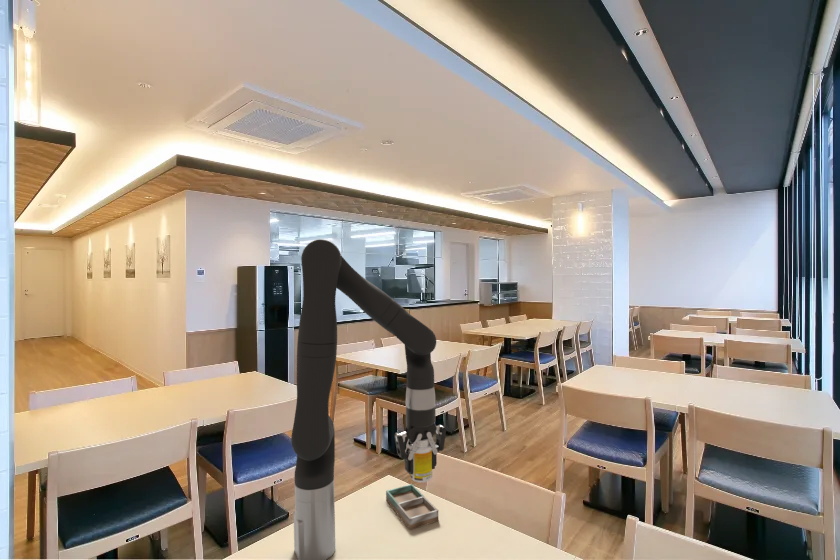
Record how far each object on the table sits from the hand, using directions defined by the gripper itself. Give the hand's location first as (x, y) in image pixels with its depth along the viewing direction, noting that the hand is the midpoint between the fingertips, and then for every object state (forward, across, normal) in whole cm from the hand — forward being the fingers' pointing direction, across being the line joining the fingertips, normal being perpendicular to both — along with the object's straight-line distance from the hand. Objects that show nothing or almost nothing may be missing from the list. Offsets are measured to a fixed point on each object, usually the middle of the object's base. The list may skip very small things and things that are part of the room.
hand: (421, 470), depth 107 cm
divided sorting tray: (+17, +3, +12) cm, 21 cm away
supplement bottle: (+2, 0, 0) cm, 2 cm away
